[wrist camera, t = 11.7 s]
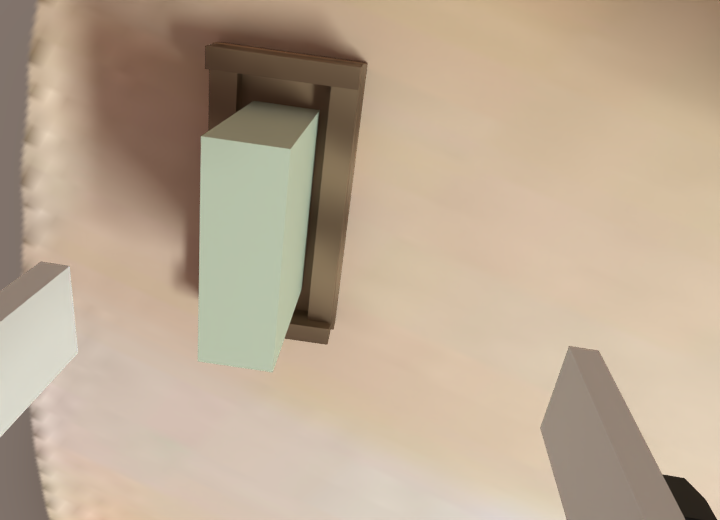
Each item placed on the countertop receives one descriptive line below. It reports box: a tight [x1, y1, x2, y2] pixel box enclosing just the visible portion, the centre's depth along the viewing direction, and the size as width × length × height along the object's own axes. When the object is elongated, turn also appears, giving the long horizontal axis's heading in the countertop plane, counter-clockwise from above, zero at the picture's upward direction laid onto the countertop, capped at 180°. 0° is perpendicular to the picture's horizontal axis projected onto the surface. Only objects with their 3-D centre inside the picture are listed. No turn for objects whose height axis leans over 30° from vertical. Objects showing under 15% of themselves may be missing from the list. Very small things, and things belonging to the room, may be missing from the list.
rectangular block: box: [198, 101, 320, 372], centre depth 32 cm, size 12×4×10 cm, turn 173°
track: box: [205, 42, 367, 344], centre depth 36 cm, size 18×9×3 cm, turn 173°
